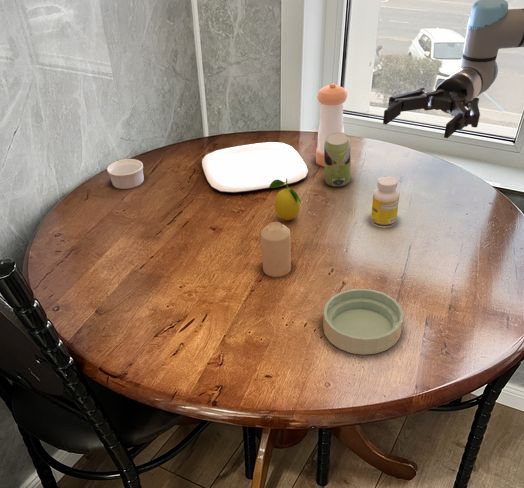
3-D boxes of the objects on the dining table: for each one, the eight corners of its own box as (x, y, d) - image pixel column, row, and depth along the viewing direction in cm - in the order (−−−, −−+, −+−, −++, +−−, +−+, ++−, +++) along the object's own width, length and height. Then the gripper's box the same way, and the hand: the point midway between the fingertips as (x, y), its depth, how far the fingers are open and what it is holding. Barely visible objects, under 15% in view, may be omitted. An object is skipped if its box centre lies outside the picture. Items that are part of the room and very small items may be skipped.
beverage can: (350, 177, 133) (353, 128, 124) (348, 192, 128) (351, 142, 119) (324, 177, 134) (326, 128, 125) (321, 191, 129) (323, 141, 120)
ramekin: (153, 178, 138) (149, 161, 135) (131, 193, 133) (128, 177, 130) (125, 172, 141) (121, 156, 138) (103, 187, 136) (99, 171, 133)
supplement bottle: (369, 216, 119) (373, 174, 112) (395, 216, 119) (400, 174, 112) (371, 229, 115) (375, 186, 109) (396, 229, 115) (402, 186, 108)
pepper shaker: (336, 154, 143) (339, 76, 129) (349, 165, 138) (353, 85, 124) (311, 159, 141) (312, 81, 128) (323, 170, 136) (325, 91, 123)
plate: (213, 202, 127) (213, 195, 126) (197, 158, 145) (197, 151, 144) (316, 185, 131) (316, 178, 130) (288, 144, 149) (288, 137, 148)
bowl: (412, 321, 94) (415, 303, 91) (381, 367, 86) (383, 349, 83) (344, 298, 99) (345, 280, 96) (309, 340, 91) (309, 322, 89)
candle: (292, 277, 104) (291, 232, 98) (264, 279, 104) (261, 234, 97) (289, 261, 108) (288, 216, 102) (262, 263, 108) (259, 219, 101)
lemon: (270, 215, 122) (268, 173, 115) (295, 211, 122) (295, 169, 116) (277, 230, 117) (275, 187, 110) (303, 226, 118) (303, 183, 111)
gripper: (508, 119, 119) (470, 155, 107) (404, 98, 130) (360, 130, 119) (518, 83, 113) (479, 117, 102) (409, 65, 125) (362, 94, 113)
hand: (415, 124), depth 110 cm, fingers open, 13 cm apart
